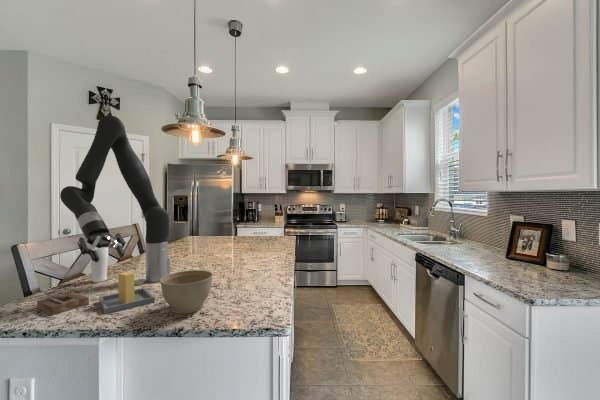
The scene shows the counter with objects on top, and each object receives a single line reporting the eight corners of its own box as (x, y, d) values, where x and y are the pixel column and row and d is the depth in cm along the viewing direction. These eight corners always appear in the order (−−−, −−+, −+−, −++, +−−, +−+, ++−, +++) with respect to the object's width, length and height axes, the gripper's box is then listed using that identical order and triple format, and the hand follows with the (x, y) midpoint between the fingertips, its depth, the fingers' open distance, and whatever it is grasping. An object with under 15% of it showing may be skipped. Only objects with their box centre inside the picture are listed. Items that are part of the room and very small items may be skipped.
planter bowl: (156, 307, 94) (155, 275, 93) (203, 296, 103) (203, 267, 103) (166, 324, 81) (166, 287, 81) (220, 310, 91) (219, 277, 90)
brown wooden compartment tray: (72, 298, 102) (72, 289, 102) (88, 304, 97) (88, 294, 97) (37, 308, 94) (36, 298, 94) (53, 314, 88) (52, 304, 88)
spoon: (148, 282, 123) (148, 278, 123) (113, 299, 103) (112, 295, 103) (139, 282, 124) (139, 278, 124) (102, 299, 103) (102, 294, 103)
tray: (144, 292, 109) (144, 287, 109) (154, 302, 98) (154, 297, 98) (99, 301, 99) (99, 296, 99) (104, 314, 88) (104, 308, 88)
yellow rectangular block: (127, 299, 101) (127, 271, 101) (134, 301, 98) (134, 273, 98) (118, 301, 98) (118, 273, 98) (125, 303, 96) (125, 275, 96)
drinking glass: (99, 283, 121) (98, 249, 121) (86, 282, 122) (85, 249, 122) (112, 279, 127) (111, 246, 127) (100, 278, 129) (99, 246, 129)
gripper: (74, 220, 98) (92, 255, 93) (116, 217, 111) (134, 248, 106) (67, 235, 101) (84, 269, 96) (109, 230, 113) (126, 260, 108)
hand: (110, 258), depth 101 cm, fingers open, 8 cm apart
